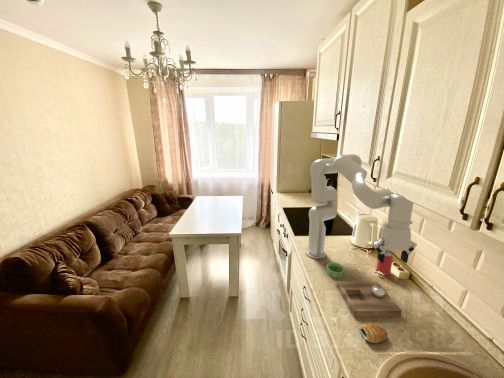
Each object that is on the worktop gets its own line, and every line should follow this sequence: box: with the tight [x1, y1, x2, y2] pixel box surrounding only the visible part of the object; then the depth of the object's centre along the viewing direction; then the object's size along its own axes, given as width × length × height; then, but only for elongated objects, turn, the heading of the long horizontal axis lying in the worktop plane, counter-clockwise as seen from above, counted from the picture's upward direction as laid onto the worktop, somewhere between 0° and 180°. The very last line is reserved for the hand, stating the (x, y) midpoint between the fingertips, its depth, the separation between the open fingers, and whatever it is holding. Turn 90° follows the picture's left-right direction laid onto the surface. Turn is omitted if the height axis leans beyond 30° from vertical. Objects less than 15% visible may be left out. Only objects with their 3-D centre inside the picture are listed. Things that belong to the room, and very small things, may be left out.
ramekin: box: [326, 262, 345, 279], centre depth 116 cm, size 9×9×4 cm
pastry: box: [358, 323, 388, 344], centre depth 80 cm, size 9×7×4 cm
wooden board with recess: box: [336, 280, 403, 318], centre depth 98 cm, size 18×20×3 cm
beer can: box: [375, 250, 394, 277], centre depth 116 cm, size 7×7×12 cm
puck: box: [371, 285, 386, 299], centre depth 97 cm, size 5×5×3 cm
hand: (392, 261), depth 91 cm, fingers open, 9 cm apart
